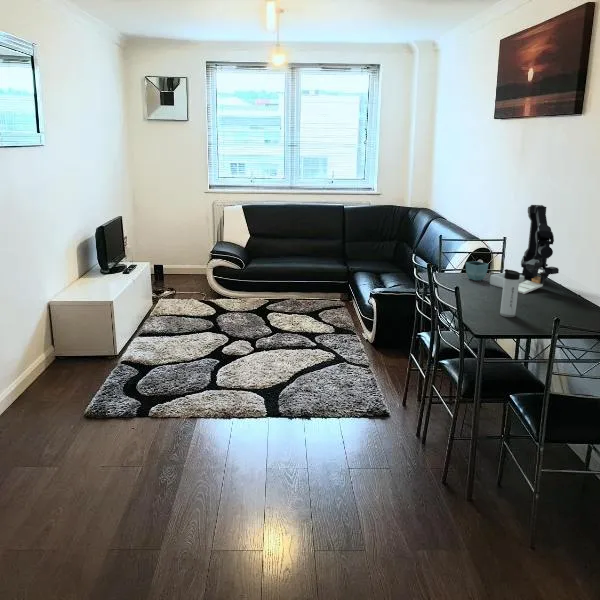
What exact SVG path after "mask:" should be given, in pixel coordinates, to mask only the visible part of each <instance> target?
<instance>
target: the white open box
mask: <svg viewBox="0 0 600 600" xmlns="http://www.w3.org/2000/svg"><path fill="white" fill-rule="evenodd" d="M504 276H505V272H501V273H494V274H490V276H489V277H490V278H489V285H491V286H494V287H498V288H502V289H503V284H504ZM524 281H525V278H524V276H522V274H520V278H519V283H521V282H524Z"/></svg>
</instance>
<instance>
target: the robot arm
mask: <svg viewBox="0 0 600 600" xmlns="http://www.w3.org/2000/svg"><path fill="white" fill-rule="evenodd" d="M527 216H528V218H529V220H530V226H529V234H528V235H529V237H528V244H527V245H528V246H527V249H526V250H524V254H523V256H522V258H521V260H520V267H521V268H522V272H521V275H522V276H524V279H528V280H532V278H535V277H537V276H538V274H540V277H541V280H540V284H543V285H544V283H545V281H546V279H547V278H548V277H549V276H550V275H556V274H559V273H560V272H559V271H560V270H559V267H555V266H549V263H547V261H548V259H549V258H551V257H552V256H553V254H554V250H553V249H552V247H550V245H554V242H555V237H554V233H553V232H552V227H550V226H549V225H548V220H547V206H545V205H543V204H531V205H529V206H528V207H527ZM540 270H541V272H540Z"/></svg>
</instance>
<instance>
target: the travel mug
mask: <svg viewBox="0 0 600 600" xmlns="http://www.w3.org/2000/svg"><path fill="white" fill-rule="evenodd" d="M503 272H504V273H505V276H504V284H503V288H502V293H501V294H502V295H501V300H500V301H501V302H500V310H499V311H500V312H499V316H502V317H504V318H515V317H516V311H517V303H518V295H519V294H518V293H519V292H518V288H519V278H520V275H521V273H520V272H519V271H516V270H513V269H504V271H503Z"/></svg>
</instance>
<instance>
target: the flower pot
mask: <svg viewBox="0 0 600 600" xmlns="http://www.w3.org/2000/svg"><path fill="white" fill-rule="evenodd" d="M488 268H489V264H488V263H486V262H481V261H478V260H477V261H467V262H465V273H466V276H467V278H468V279H469V280H472V281H482V280H483V279H484V278H485V277H486V275H487V272H488Z"/></svg>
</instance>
